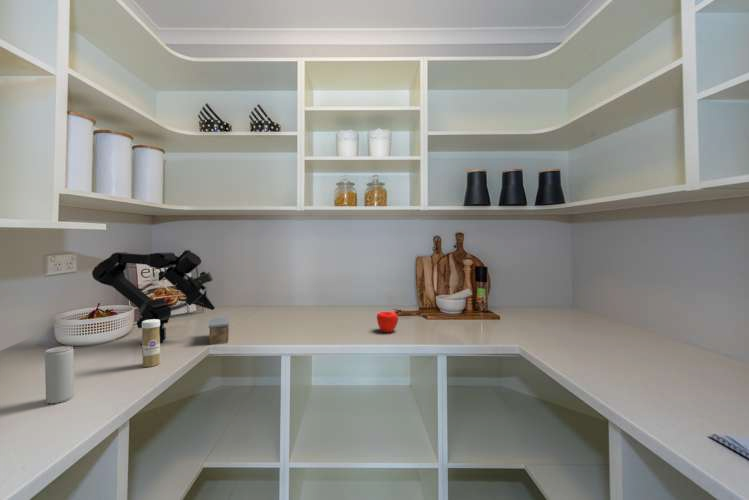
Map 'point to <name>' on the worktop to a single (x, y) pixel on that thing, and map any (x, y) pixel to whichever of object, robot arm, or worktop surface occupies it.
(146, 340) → the sprinkles bottle
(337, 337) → the worktop surface
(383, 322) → the apple
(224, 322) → the box lid
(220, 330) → the walnut box
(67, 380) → the beverage can
